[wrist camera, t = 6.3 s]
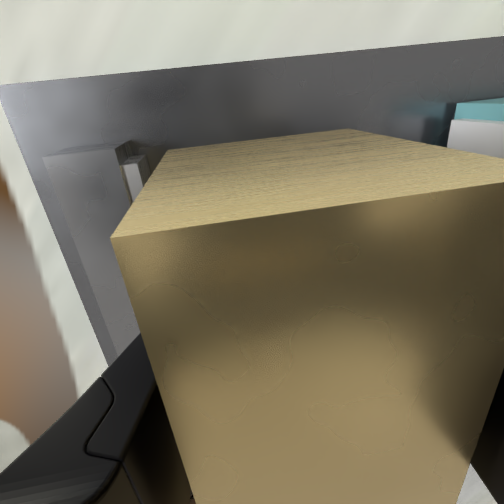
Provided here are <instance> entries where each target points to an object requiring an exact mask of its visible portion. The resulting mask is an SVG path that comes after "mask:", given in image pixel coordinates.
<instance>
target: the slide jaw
mask: <svg viewBox="0 0 504 504" xmlns="http://www.w3.org/2000/svg"><path fill="white" fill-rule="evenodd" d="M447 148H451V149H456V150H461V151H467V152H472V153H477V154H482V155H487V156H492V157H497V158H503V159H504V98H497V99H488V100H479V101H471V102H462V103H457V106H456V112H455V117H454V120H451V126H450V132H449V138H448V143H447Z"/></svg>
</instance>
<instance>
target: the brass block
mask: <svg viewBox="0 0 504 504" xmlns="http://www.w3.org/2000/svg"><path fill="white" fill-rule="evenodd" d="M110 240H111V243H112V246H113V249H114V252H115V255H116V258H117V261H118V265H119V268H120V271H121V274H122V277H123V280H124V283H125V286H126V289H127V292H128V295H129V298H130V302H131V305H132V308H133V311H134V314H135V317H136V320H137V323H138V326H139V329H140V332H141V336H142V339H143V342H144V345H145V348H146V351H147V354H148V357H149V360H150V363H151V366H152V369H153V373H154V376H155V379H156V382H157V385H158V388H159V391H160V394H161V397H162V400H163V403H164V406H165V410H166V413H167V416H168V419H169V422H170V425H171V428H172V431H173V434H174V437H175V440H176V444H177V447H178V450H179V453H180V456H181V459H182V462H183V465H184V468H185V471H186V474H187V477H188V481H189V484H190V487H191V490H192V493H193V496H194V499H195V502H196V504H456V502H457V499H458V496H459V493H460V491H461V488H462V485H463V482H464V479H465V476H466V474H467V471H468V468H469V465H470V462H471V459H472V457H473V454H474V451H475V448H476V445H477V442H478V440H479V437H480V434H481V431H482V428H483V425H484V423H485V420H486V417H487V414H488V411H489V408H490V406H491V403H492V400H493V397H494V394H495V391H496V389H497V386H498V383H499V380H500V377H501V374H502V372H503V369H504V159H503V158H497V157H492V156H487V155H482V154H477V153H472V152H467V151H461V150H456V149H451V148H446V147H441V146H436V145H431V144H426V143H420V142H415V141H410V140H405V139H400V138H395V137H390V136H385V135H379V134H374V133H369V132H364V131H359V130H354V129H349V128H347V129H339V130H330V131H322V132H314V133H305V134H297V135H289V136H280V137H272V138H264V139H256V140H247V141H239V142H231V143H222V144H214V145H206V146H198V147H189V148H181V149H173V150H167V152H166V153H165V155H164V156H163V158H162V159H161V161H160V162H159V164H158V166H157V167H156V169H155V170H154V172H153V173H152V175H151V176H150V178H149V179H148V181H147V182H146V184H145V185H144V187H143V188H142V190H141V191H140V193H139V195H138V196H137V198H136V199H135V201H134V202H133V204H132V205H131V207H130V208H129V210H128V211H127V213H126V214H125V216H124V217H123V219H122V220H121V222H120V224H119V225H118V227H117V228H116V230H115V231H114V233H113V234H112V236H111V237H110Z"/></svg>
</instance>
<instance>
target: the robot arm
mask: <svg viewBox="0 0 504 504" xmlns="http://www.w3.org/2000/svg"><path fill="white" fill-rule="evenodd" d="M470 463H471V465H472V466H473V468H474V469H475V471H476V472H477V474H478V475H479V477H480V478H481V480H482V481H483V483H484V484H485V486H486V487H487V489H488V490H489V492H490V493H491V495H492V496H493V498H494V499H495V501H496V502H497V504H504V369H503V372H502V374H501V377H500V380H499V383H498V386H497V389H496V391H495V394H494V397H493V400H492V403H491V406H490V408H489V411H488V414H487V417H486V420H485V423H484V425H483V428H482V431H481V434H480V437H479V440H478V442H477V445H476V448H475V451H474V454H473V457H472V459H471V462H470ZM190 496H191V487H190V484H189V481H188V477H187V474H186V471H185V468H184V465H183V462H182V459H181V456H180V453H179V450H178V447H177V444H176V440H175V437H174V434H173V431H172V428H171V425H170V422H169V419H168V416H167V413H166V410H165V406H164V403H163V400H162V397H161V394H160V391H159V388H158V385H157V382H156V379H155V376H154V373H153V369H152V366H151V363H150V360H149V357H148V354H147V351H146V348H145V345H144V342H143V339H142V336H141V332H140V333H139V334H138V335H137V337H136V338H135V339H134V340H133V341H132V342H131V343H130V344H129V345H128V346H127V347H126V349H125V350H124V351H123V352H122V353H121V354H120V355H119V356H118V357H117V358H116V359H115V360H114V362H113V363H112V364H111V365H110V366H109V367H108V368H107V369H106V370H105V371H104V372H103V374H102V375H101V377H99V378H98V379H97V380H96V381H95V382H94V383H93V384H92V385H91V386H90V387H89V389H88V390H87V391H86V392H85V393H84V394H83V395H82V396H81V397H80V398H79V399H78V400H77V401H76V402H75V403H74V404H73V405H72V406H71V407H70V408H69V409H68V410H67V411H66V412H65V413H64V414H63V415H62V416H61V417H60V418H59V419H58V420H57V421H56V422H55V423H54V424H53V425H52V426H51V427H50V428H49V429H48V430H46V431H45V432H44V433H43V434H42V435H41V436H40V437H39V438H38V439H37V440H36V441H35V442H34V443H33V444H31V445H30V446H29V447H28V448H27V449H26V450H25V451H24V452H23V453H22V454H21V455H20V456H19V457H17V458H16V459H15V460H14V461H13V462H12V463H11V464H10V465H9V466H8V467H7V468H6V469H5V470H3V471H2V472H1V473H0V504H190Z"/></svg>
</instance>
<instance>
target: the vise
mask: <svg viewBox="0 0 504 504" xmlns="http://www.w3.org/2000/svg"><path fill="white" fill-rule="evenodd" d="M497 98H504V36H501V37H491V38H480V39H470V40H460V41H449V42H439V43H429V44H418V45H408V46H398V47H388V48H377V49H367V50H357V51H346V52H336V53H326V54H315V55H305V56H295V57H285V58H274V59H264V60H254V61H243V62H233V63H223V64H212V65H202V66H192V67H181V68H171V69H161V70H151V71H140V72H130V73H120V74H109V75H99V76H89V77H78V78H68V79H58V80H47V81H37V82H27V83H17V84H6V85H0V101H1V104H2V106H3V109H4V111H5V114H6V116H7V119H8V121H9V124H10V126H11V128H12V131H13V133H14V136H15V138H16V141H17V143H18V146H19V148H20V150H21V153H22V155H23V158H24V160H25V163H26V165H27V168H28V170H29V173H30V175H31V177H32V180H33V182H34V185H35V187H36V190H37V192H38V195H39V197H40V200H41V202H42V204H43V207H44V209H45V212H46V214H47V217H48V219H49V222H50V224H51V226H52V229H53V231H54V234H55V236H56V239H57V241H58V244H59V246H60V249H61V251H62V253H63V256H64V258H65V261H66V263H67V266H68V268H69V271H70V273H71V276H72V278H73V280H74V283H75V285H76V288H77V290H78V293H79V295H80V298H81V300H82V302H83V305H84V307H85V310H86V312H87V315H88V317H89V320H90V322H91V325H92V327H93V329H94V332H95V334H96V337H97V339H98V342H99V344H100V347H101V349H102V352H103V354H104V356H105V359H106V361H107V364H108V366H110V365H111V364H112V363H113V362H114V360H115V359H116V358H117V357H118V356H119V355H120V354H121V353H122V352H123V351H124V350H125V349H126V347H127V346H128V345H129V344H130V343H131V342H132V341H133V340H134V339H135V338H136V337H137V335H138V334H139V333H140V329H139V326H138V323H137V320H136V317H135V314H134V311H133V308H132V305H131V302H130V298H129V295H128V292H127V289H126V286H125V283H124V280H123V277H122V274H121V271H120V268H119V265H118V261H117V258H116V255H115V252H114V249H113V246H112V243H111V240H110V237H111V236H112V234H113V233H114V231H115V230H116V228H117V227H118V225H119V224H120V222H121V220H122V219H123V217H124V216H125V214H126V213H127V211H128V210H129V208H130V207H131V205H132V204H133V202H134V201H135V199H136V198H137V196H138V195H139V193H140V191H141V190H142V188H143V187H144V185H145V184H146V182H147V181H148V179H149V178H150V176H151V175H152V173H153V172H154V170H155V169H156V167H157V166H158V164H159V162H160V161H161V159H162V158H163V156H164V155H165V153H166V152H167V150H173V149H181V148H189V147H198V146H206V145H214V144H222V143H231V142H239V141H247V140H256V139H264V138H272V137H280V136H289V135H297V134H305V133H314V132H322V131H330V130H339V129H347V128H349V129H354V130H359V131H364V132H369V133H374V134H379V135H385V136H390V137H395V138H400V139H405V140H410V141H415V142H420V143H426V144H431V145H436V146H441V147H446V148H447V143H448V138H449V132H450V126H451V120H454V117H455V112H456V106H457V103H462V102H471V101H479V100H488V99H497Z"/></svg>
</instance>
